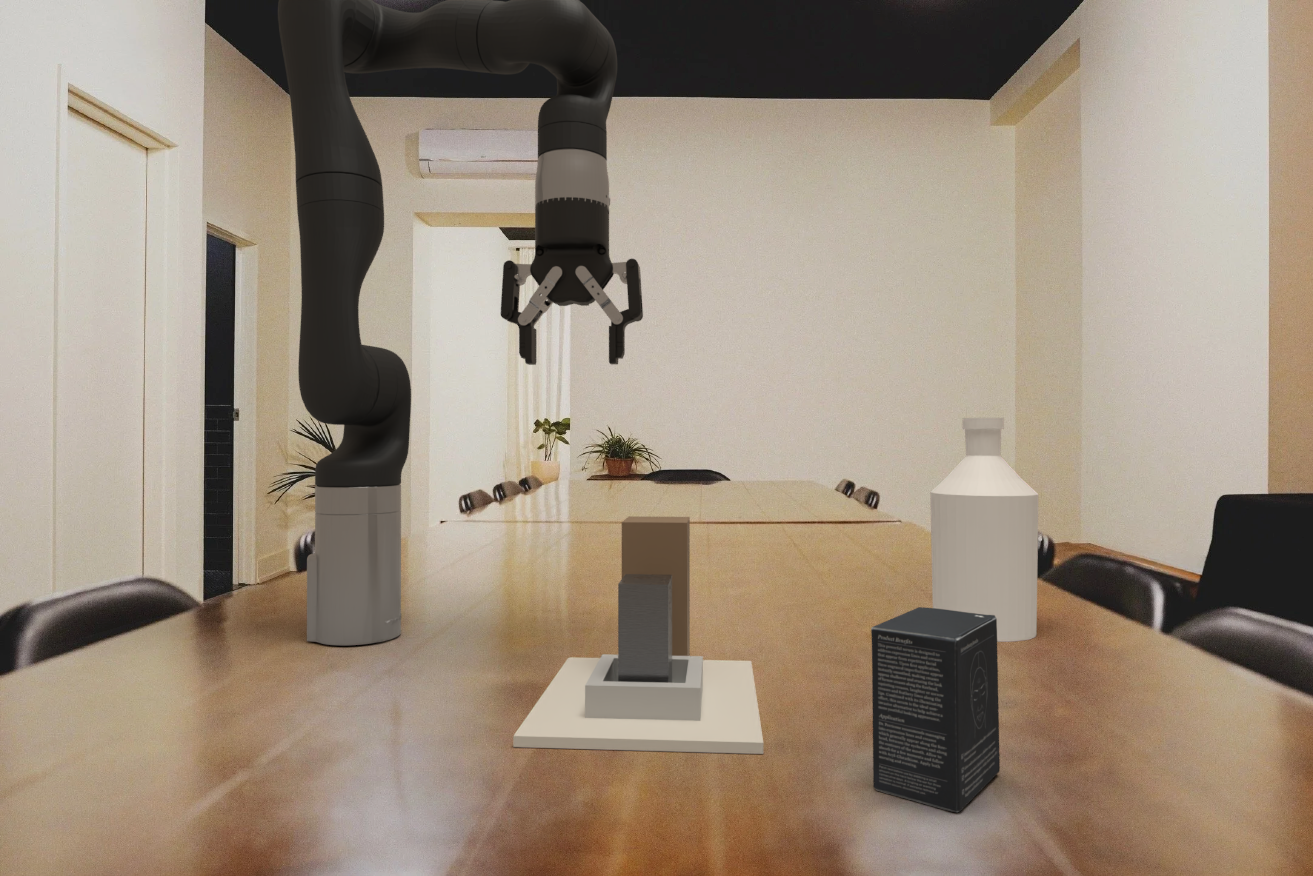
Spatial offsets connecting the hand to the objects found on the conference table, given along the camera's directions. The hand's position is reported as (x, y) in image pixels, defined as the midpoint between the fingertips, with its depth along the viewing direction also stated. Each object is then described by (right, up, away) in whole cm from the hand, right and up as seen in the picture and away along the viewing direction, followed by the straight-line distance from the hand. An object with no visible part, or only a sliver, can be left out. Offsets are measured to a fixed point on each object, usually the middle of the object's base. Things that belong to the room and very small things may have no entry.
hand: (572, 364), depth 84 cm
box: (+27, -30, -30) cm, 50 cm away
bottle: (+47, -30, +13) cm, 58 cm away
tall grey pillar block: (+8, -29, -16) cm, 34 cm away
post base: (+8, -30, -14) cm, 34 cm away
